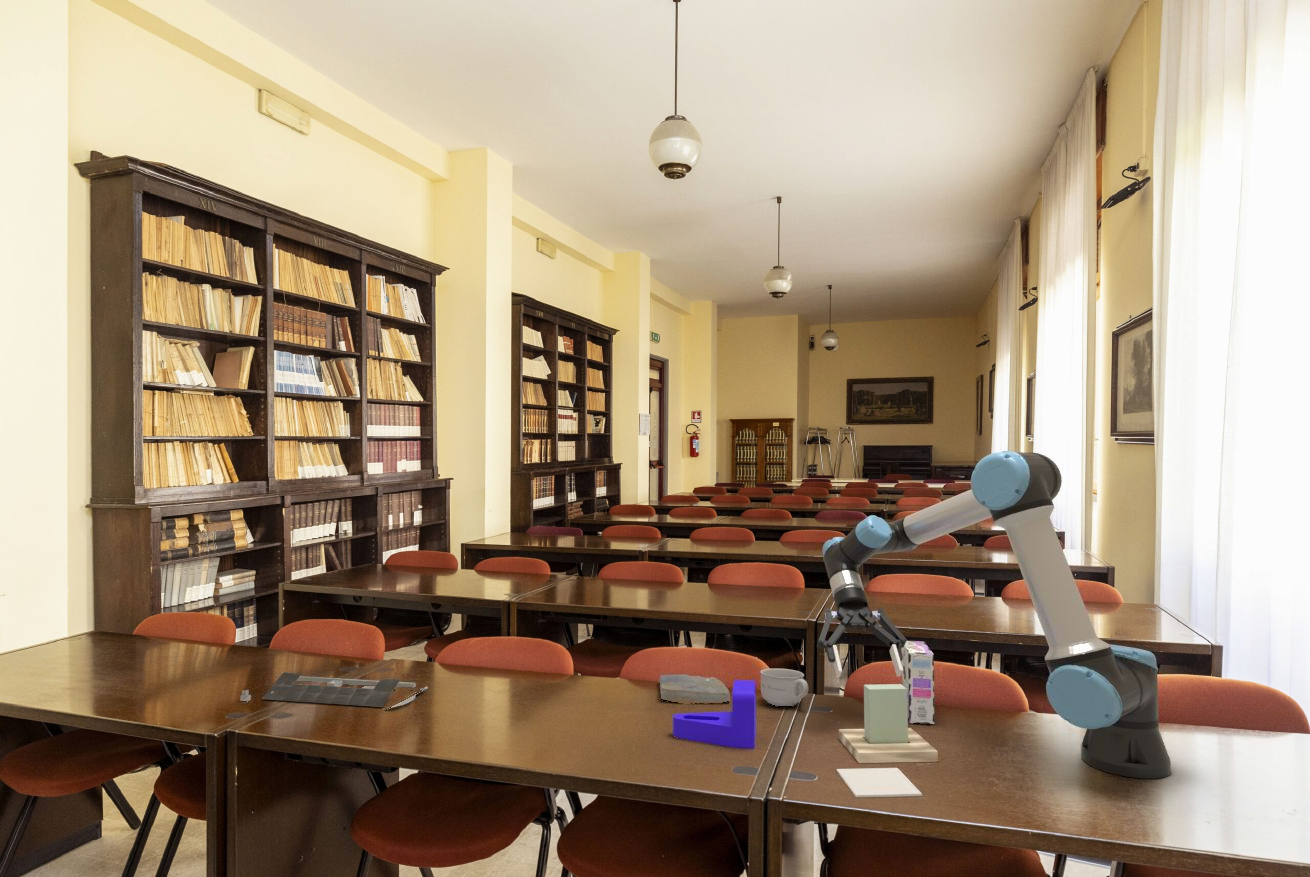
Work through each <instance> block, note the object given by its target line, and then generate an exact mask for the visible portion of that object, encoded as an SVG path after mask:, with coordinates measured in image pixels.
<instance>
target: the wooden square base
mask: <svg viewBox="0 0 1310 877" xmlns="http://www.w3.org/2000/svg"><path fill="white" fill-rule="evenodd" d="M838 740H839V742H841V743H842V744H843V745H844V747H845V748H846V750H847V751H848V752H849V753H850V754H851V755H852V756H853V758H854V759H855V760H856V761H857V763H858V764H877V763H878V764H881V763H882V764H883V763H884V764H885V763H932V762H933V763H935V762H936V763H937V762H939V755H938V750H937V749H936V748H935V747H933V746H932V745H931V744H930V743H929V742H928V741H926V740H925V739H924V738H923V737H922V736H921V735H920V734H918V732H916V731H915V730H914V729H912V727H908V743H892V744H868V743H867V741H866V740H865V734H864V728H842V729H841V728H839V729H838Z"/></svg>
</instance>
